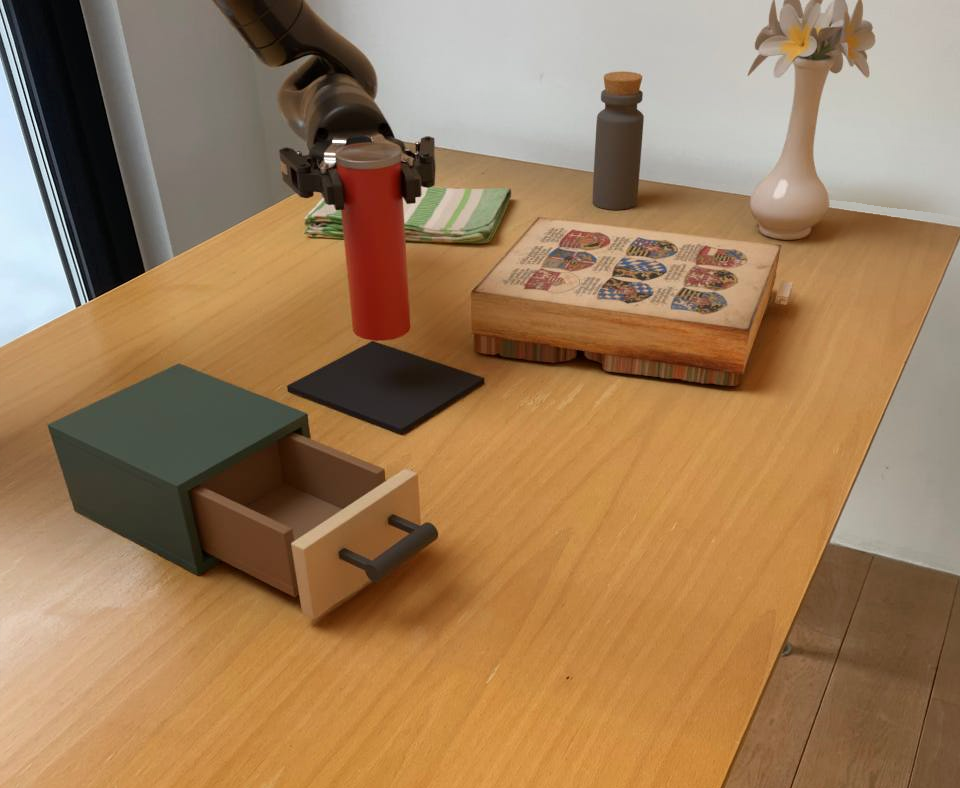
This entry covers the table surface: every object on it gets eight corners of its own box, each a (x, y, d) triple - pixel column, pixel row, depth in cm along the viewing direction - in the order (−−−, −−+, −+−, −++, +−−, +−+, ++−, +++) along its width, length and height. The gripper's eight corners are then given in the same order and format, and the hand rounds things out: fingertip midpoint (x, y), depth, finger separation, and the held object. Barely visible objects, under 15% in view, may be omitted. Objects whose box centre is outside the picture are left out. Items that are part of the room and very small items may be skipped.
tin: (346, 340, 92) (328, 160, 83) (359, 315, 96) (343, 141, 87) (405, 342, 92) (394, 162, 82) (415, 317, 96) (406, 142, 86)
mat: (287, 391, 97) (286, 385, 97) (373, 346, 105) (372, 340, 104) (401, 435, 91) (401, 429, 90) (484, 383, 98) (484, 377, 98)
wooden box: (791, 297, 113) (543, 265, 120) (803, 237, 109) (545, 208, 116) (759, 399, 95) (471, 355, 103) (771, 333, 91) (470, 292, 98)
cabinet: (319, 499, 83) (307, 413, 78) (198, 576, 76) (177, 486, 71) (196, 445, 90) (178, 362, 85) (74, 510, 82) (46, 424, 77)
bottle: (583, 200, 138) (589, 73, 128) (621, 193, 140) (629, 67, 130) (607, 213, 134) (616, 83, 124) (645, 205, 136) (656, 77, 126)
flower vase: (833, 208, 134) (879, -20, 118) (837, 260, 120) (889, 10, 104) (730, 202, 136) (761, -23, 120) (722, 252, 123) (756, 7, 106)
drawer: (464, 559, 75) (462, 490, 71) (357, 642, 68) (349, 570, 65) (291, 483, 83) (281, 418, 79) (181, 551, 76) (164, 483, 73)
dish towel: (491, 248, 125) (490, 225, 123) (302, 239, 128) (299, 216, 126) (511, 199, 138) (511, 178, 136) (340, 193, 141) (338, 171, 139)
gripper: (263, 97, 93) (279, 152, 80) (422, 85, 95) (461, 137, 83) (275, 185, 98) (292, 249, 85) (426, 172, 100) (463, 233, 88)
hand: (375, 194), depth 84 cm, fingers closed on tin, 5 cm apart
